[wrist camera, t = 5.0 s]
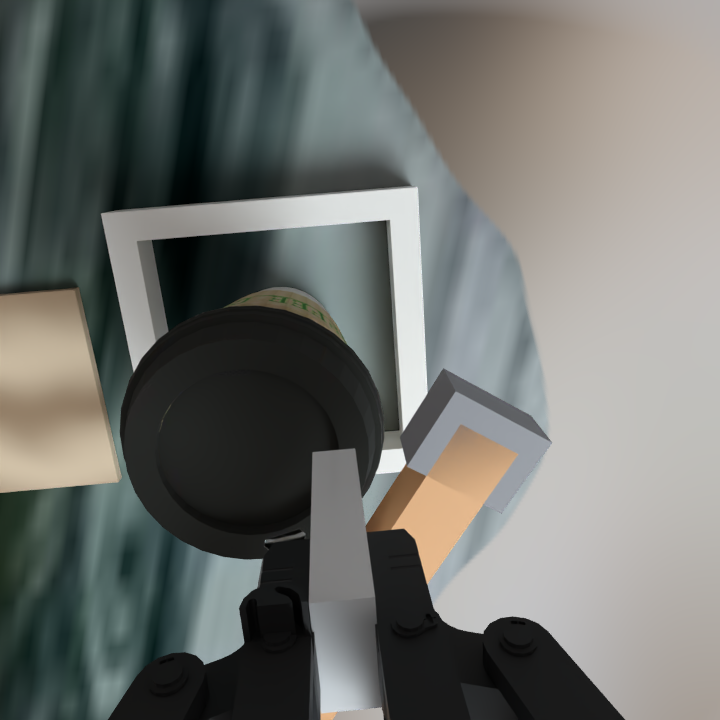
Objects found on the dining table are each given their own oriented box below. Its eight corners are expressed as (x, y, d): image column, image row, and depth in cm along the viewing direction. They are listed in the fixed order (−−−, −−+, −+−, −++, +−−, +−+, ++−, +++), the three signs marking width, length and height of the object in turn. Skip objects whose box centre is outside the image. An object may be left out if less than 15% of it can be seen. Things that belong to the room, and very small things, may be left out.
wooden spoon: (428, 360, 17) (439, 381, 15) (544, 423, 17) (567, 450, 16) (190, 741, 21) (177, 793, 19) (293, 779, 21) (290, 833, 20)
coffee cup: (334, 230, 33) (335, 277, 19) (387, 387, 36) (423, 529, 22) (169, 286, 34) (51, 373, 20) (235, 436, 37) (173, 606, 23)
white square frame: (118, 210, 32) (-109, 254, 16) (411, 185, 33) (491, 204, 16) (176, 507, 38) (55, 770, 22) (426, 485, 38) (497, 728, 22)
